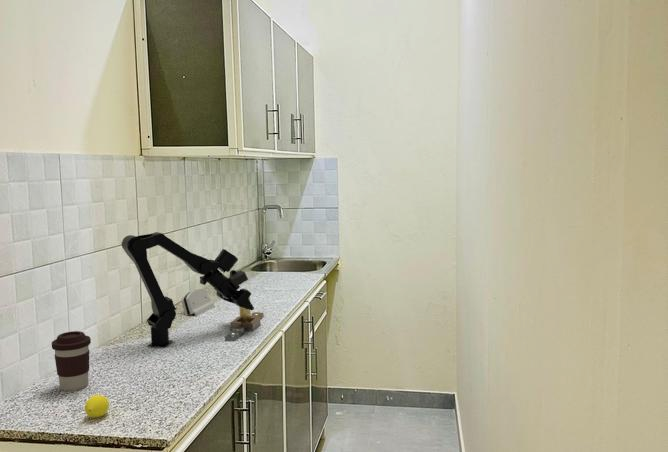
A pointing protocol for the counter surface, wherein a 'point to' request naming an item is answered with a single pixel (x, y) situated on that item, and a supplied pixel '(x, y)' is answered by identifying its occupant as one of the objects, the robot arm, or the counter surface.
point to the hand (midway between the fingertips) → (248, 307)
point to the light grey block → (196, 302)
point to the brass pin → (245, 314)
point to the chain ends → (243, 326)
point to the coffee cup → (72, 359)
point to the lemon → (96, 406)
